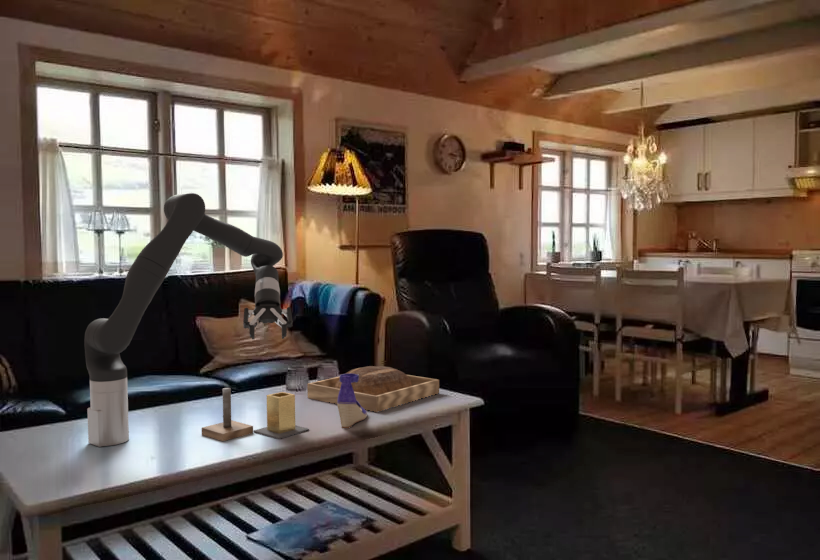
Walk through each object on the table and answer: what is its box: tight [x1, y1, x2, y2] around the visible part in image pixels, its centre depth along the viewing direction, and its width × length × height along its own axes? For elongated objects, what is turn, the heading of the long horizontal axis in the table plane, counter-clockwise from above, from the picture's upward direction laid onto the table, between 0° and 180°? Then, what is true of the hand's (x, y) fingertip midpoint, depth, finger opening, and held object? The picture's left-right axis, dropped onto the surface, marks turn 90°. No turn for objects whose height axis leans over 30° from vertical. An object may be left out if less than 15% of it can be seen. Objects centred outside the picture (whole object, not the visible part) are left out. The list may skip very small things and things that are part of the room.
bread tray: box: [306, 374, 440, 413], centre depth 233 cm, size 33×32×5 cm
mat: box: [253, 424, 310, 440], centre depth 190 cm, size 11×11×1 cm
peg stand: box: [201, 387, 254, 442], centre depth 187 cm, size 10×10×13 cm
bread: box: [335, 365, 412, 396], centre depth 236 cm, size 26×27×10 cm
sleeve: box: [266, 391, 296, 434], centre depth 189 cm, size 6×6×10 cm
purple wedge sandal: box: [336, 373, 368, 429], centre depth 201 cm, size 8×20×15 cm, turn 165°
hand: (268, 337), depth 195 cm, fingers open, 8 cm apart
